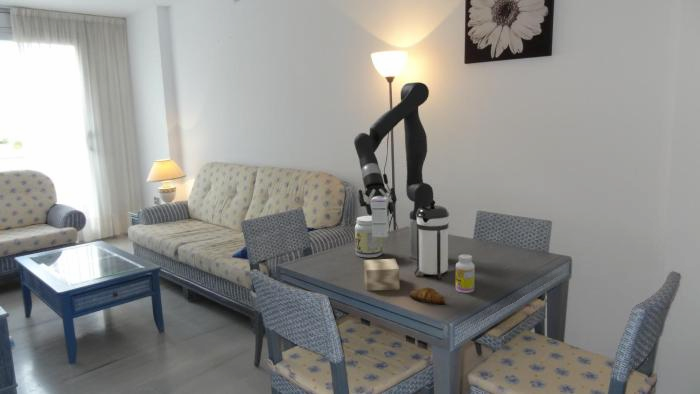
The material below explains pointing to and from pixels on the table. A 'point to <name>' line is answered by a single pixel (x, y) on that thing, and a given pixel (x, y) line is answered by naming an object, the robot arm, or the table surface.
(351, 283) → the table surface
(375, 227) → the syrup box
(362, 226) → the supplement tub
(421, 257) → the coffee press
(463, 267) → the supplement bottle
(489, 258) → the table surface
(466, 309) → the table surface
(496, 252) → the table surface
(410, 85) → the robot arm
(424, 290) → the croissant
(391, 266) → the riser block
